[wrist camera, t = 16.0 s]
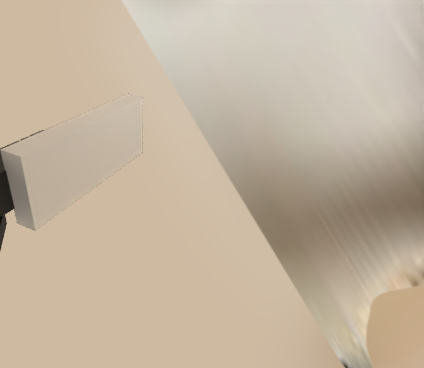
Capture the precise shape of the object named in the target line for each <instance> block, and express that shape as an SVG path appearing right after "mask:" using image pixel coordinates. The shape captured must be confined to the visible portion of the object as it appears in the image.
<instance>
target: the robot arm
mask: <svg viewBox="0 0 424 368" xmlns="http://www.w3.org/2000/svg"><path fill="white" fill-rule="evenodd" d="M142 150H143V97H140V96H136V95H133V94H126V95H123V96H121V97H119V98H117V99H114V100H112V101H110V102H108V103H105V104H103V105H101V106H99V107H96V108H94V109H92V110H89V111H87V112H85V113H83V114H80V115H78V116H76V117H73V118H71V119H69V120H67V121H64V122H62V123H60V124H58V125H55V126H53V127H51V128H49V129H46V130H42V131H39V132H37V133H35V134H32V135H30V137H26V138H23V139H21V141H17V142H14V143H12V144H10V145H7V146H5V147H3V148H1V149H0V250H1V245H2V241H3V237H4V233H5V229H6V224H7V223H6V217H5V214H6V213H8V212H10V211H11V210H13V209H14V211H15V216H16V220H17V223H18V224H20V225H23V226H25V227H27V228H30V229H32V230H37V229H38V228H40V227H41V226H43V225H44V224H45V223H47V222H48V221H49V220H51V219H52V218H53V217H55V216H56V215H58V214H59V213H60V212H62V211H63V210H65V209H66V208H67V207H69V206H70V205H71V204H73V203H74V202H76V201H77V200H78V199H80V198H81V197H82V196H84V195H85V194H87V193H88V192H89V191H91V190H92V189H93V188H95V187H96V186H98V185H99V184H100V183H102V182H103V181H104V180H106V179H107V178H108V177H110V176H111V175H113V174H114V173H115V172H117V171H118V170H119V169H121V168H122V167H124V166H125V165H126V164H128V163H129V162H130V161H132V160H133V159H135V158H136V157H137V156H139V155H140V154H141V153H143V151H142Z"/></svg>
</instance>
